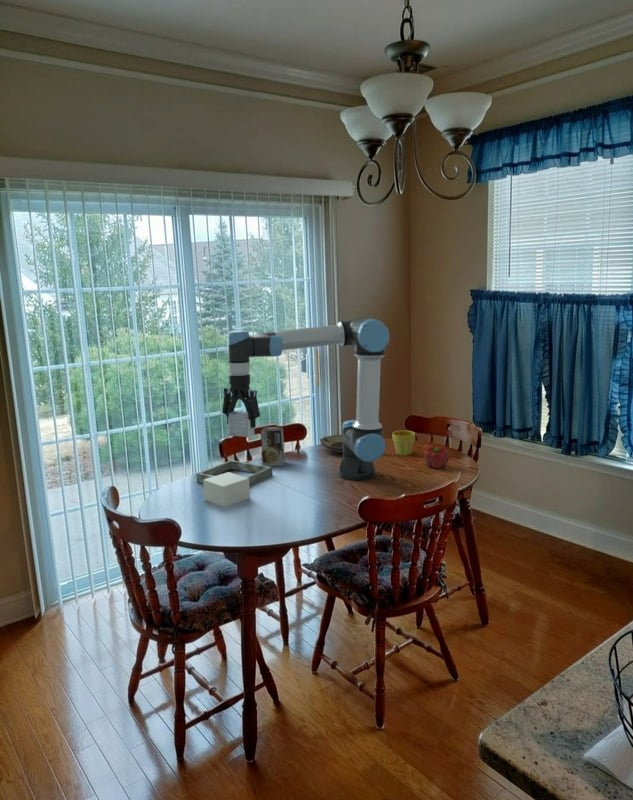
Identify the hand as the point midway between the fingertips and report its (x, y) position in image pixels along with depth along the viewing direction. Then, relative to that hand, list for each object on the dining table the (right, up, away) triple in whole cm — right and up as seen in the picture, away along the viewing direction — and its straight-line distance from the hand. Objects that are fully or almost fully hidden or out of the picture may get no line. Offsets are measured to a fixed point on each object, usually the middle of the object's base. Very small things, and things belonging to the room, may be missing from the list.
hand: (241, 434), depth 223 cm
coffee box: (+9, -16, +45) cm, 49 cm away
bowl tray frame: (-6, -20, +27) cm, 34 cm away
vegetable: (+79, -16, +34) cm, 87 cm away
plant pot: (+68, -12, +56) cm, 89 cm away
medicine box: (0, 0, 0) cm, 1 cm away
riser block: (-6, -24, +3) cm, 25 cm away
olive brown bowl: (+43, -12, +61) cm, 76 cm away
